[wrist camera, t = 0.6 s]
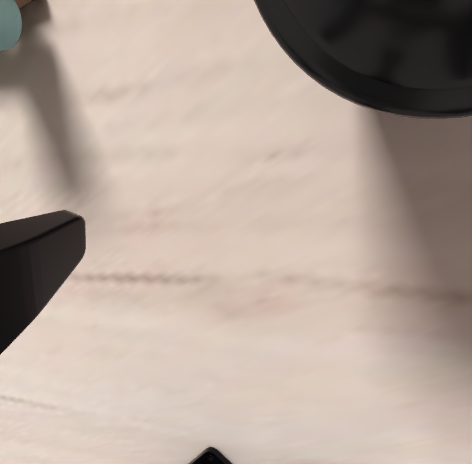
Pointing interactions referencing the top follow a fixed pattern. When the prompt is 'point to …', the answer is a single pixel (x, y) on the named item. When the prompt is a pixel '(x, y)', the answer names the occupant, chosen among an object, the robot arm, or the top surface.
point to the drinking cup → (382, 51)
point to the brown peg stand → (22, 2)
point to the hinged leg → (9, 24)
